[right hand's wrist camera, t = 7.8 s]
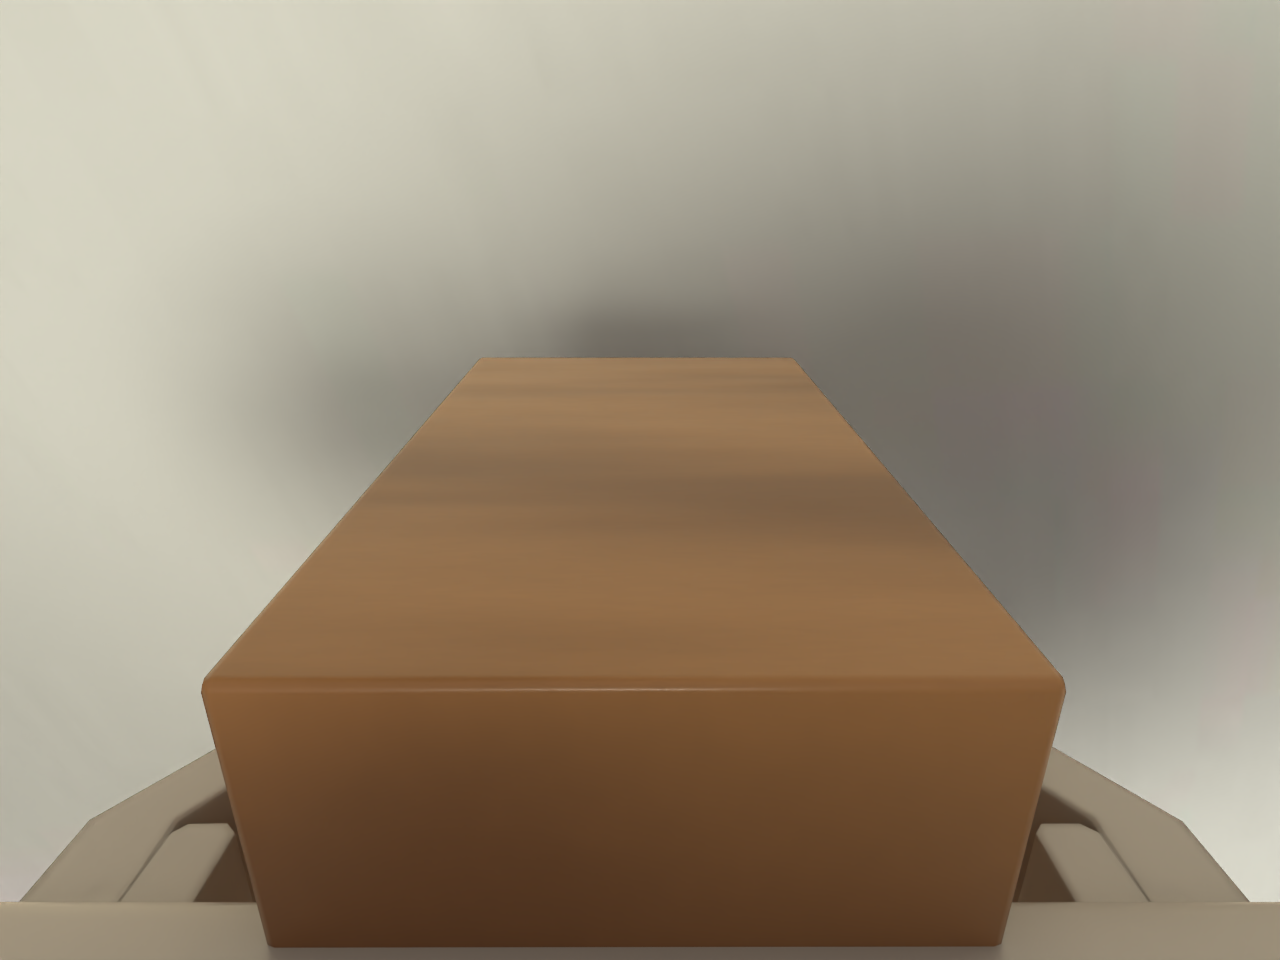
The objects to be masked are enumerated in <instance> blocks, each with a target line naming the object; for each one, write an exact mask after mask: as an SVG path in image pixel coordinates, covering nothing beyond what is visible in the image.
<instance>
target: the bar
mask: <svg viewBox="0 0 1280 960" xmlns="http://www.w3.org/2000/svg"><path fill="white" fill-rule="evenodd" d="M201 694H202V698H203V702H204V705H205V709H206V713H207V717H208V721H209V724H210V728H211V732H212V736H213V740H214V743H215V747H216V751H217V755H218V759H219V762H220V766H221V770H222V774H223V778H224V781H225V785H226V789H227V793H228V797H229V800H230V804H231V808H232V812H233V816H234V819H235V823H236V827H237V831H238V835H239V838H240V842H241V846H242V850H243V854H244V857H245V861H246V865H247V869H248V873H249V876H250V880H251V884H252V888H253V892H254V895H255V899H256V903H257V907H258V911H259V914H260V918H261V922H262V926H263V930H264V933H265V937H266V941H267V945H269V946H271V947H274V948H408V947H995V946H997V945H999V944H1001V943H1002V939H1003V935H1004V931H1005V927H1006V924H1007V920H1008V916H1009V912H1010V908H1011V904H1012V900H1013V896H1014V892H1015V888H1016V885H1017V881H1018V877H1019V873H1020V869H1021V865H1022V861H1023V857H1024V853H1025V849H1026V846H1027V842H1028V838H1029V834H1030V830H1031V826H1032V822H1033V818H1034V814H1035V810H1036V807H1037V803H1038V799H1039V795H1040V791H1041V787H1042V783H1043V779H1044V775H1045V772H1046V768H1047V764H1048V760H1049V756H1050V752H1051V748H1052V744H1053V740H1054V736H1055V733H1056V729H1057V725H1058V721H1059V717H1060V713H1061V709H1062V705H1063V701H1064V697H1065V694H1066V689H1065V683H1064V680H1063V677H1062V676H1061V675H1060V674H1059V672H1058V671H1057V670H1056V669H1055V668H1054V666H1053V665H1052V664H1051V663H1050V662H1049V661H1048V659H1047V658H1046V657H1045V656H1044V655H1043V653H1042V652H1041V651H1040V650H1039V649H1038V648H1037V646H1036V645H1035V644H1034V643H1033V642H1032V640H1031V639H1030V638H1029V637H1028V636H1027V635H1026V633H1025V632H1024V631H1023V630H1022V629H1021V627H1020V626H1019V625H1018V624H1017V623H1016V621H1015V620H1014V619H1013V618H1012V617H1011V616H1010V614H1009V613H1008V612H1007V611H1006V610H1005V608H1004V607H1003V606H1002V605H1001V604H1000V603H999V601H998V600H997V599H996V598H995V597H994V595H993V594H992V593H991V592H990V591H989V590H988V588H987V587H986V586H985V585H984V584H983V582H982V581H981V580H980V579H979V578H978V576H977V575H976V574H975V573H974V572H973V571H972V569H971V568H970V567H969V566H968V565H967V563H966V562H965V561H964V560H963V559H962V558H961V556H960V555H959V554H958V553H957V552H956V550H955V549H954V548H953V547H952V546H951V544H950V543H949V542H948V541H947V540H946V539H945V537H944V536H943V535H942V534H941V533H940V531H939V530H938V529H937V528H936V527H935V526H934V524H933V523H932V522H931V521H930V520H929V518H928V517H927V516H926V515H925V514H924V513H923V511H922V510H921V509H920V508H919V507H918V505H917V504H916V503H915V502H914V501H913V499H912V498H911V497H910V496H909V495H908V494H907V492H906V491H905V490H904V489H903V488H902V486H901V485H900V484H899V483H898V482H897V481H896V479H895V478H894V477H893V476H892V475H891V473H890V472H889V471H888V470H887V469H886V467H885V466H884V465H883V464H882V463H881V462H880V460H879V459H878V458H877V457H876V456H875V454H874V453H873V452H872V451H871V450H870V449H869V447H868V446H867V445H866V444H865V443H864V441H863V440H862V439H861V438H860V437H859V436H858V434H857V433H856V432H855V431H854V430H853V428H852V427H851V426H850V425H849V424H848V422H847V421H846V420H845V419H844V418H843V417H842V415H841V414H840V413H839V412H838V411H837V409H836V408H835V407H834V406H833V405H832V404H831V402H830V401H829V400H828V399H827V398H826V396H825V395H824V394H823V393H822V392H821V391H820V389H819V388H818V387H817V386H816V385H815V383H814V382H813V381H812V380H811V379H810V377H809V376H808V375H807V374H806V373H805V372H804V370H803V369H802V368H801V367H800V366H799V364H798V363H797V362H796V361H795V360H794V359H792V358H481V359H479V360H478V361H477V363H476V364H475V365H474V366H473V367H472V368H471V369H470V371H469V372H468V373H467V374H466V375H465V376H464V378H463V379H462V380H461V381H460V382H459V383H458V385H457V386H456V387H455V388H454V389H453V390H452V392H451V393H450V394H449V395H448V396H447V397H446V398H445V400H444V401H443V402H442V403H441V404H440V405H439V407H438V408H437V409H436V410H435V411H434V412H433V414H432V415H431V416H430V417H429V418H428V419H427V421H426V422H425V423H424V424H423V425H422V426H421V427H420V429H419V430H418V431H417V432H416V433H415V434H414V436H413V437H412V438H411V439H410V440H409V441H408V443H407V444H406V445H405V446H404V447H403V448H402V450H401V451H400V452H399V453H398V454H397V455H396V456H395V458H394V459H393V460H392V461H391V462H390V463H389V465H388V466H387V467H386V468H385V469H384V470H383V472H382V473H381V474H380V475H379V476H378V477H377V479H376V480H375V481H374V482H373V483H372V484H371V485H370V487H369V488H368V489H367V490H366V491H365V492H364V494H363V495H362V496H361V497H360V498H359V499H358V501H357V502H356V503H355V504H354V505H353V506H352V508H351V509H350V510H349V511H348V512H347V513H346V514H345V516H344V517H343V518H342V519H341V520H340V521H339V523H338V524H337V525H336V526H335V527H334V528H333V530H332V531H331V532H330V533H329V534H328V535H327V536H326V538H325V539H324V540H323V541H322V542H321V543H320V545H319V546H318V547H317V548H316V549H315V550H314V552H313V553H312V554H311V555H310V556H309V557H308V559H307V560H306V561H305V562H304V563H303V564H302V565H301V567H300V568H299V569H298V570H297V571H296V572H295V574H294V575H293V576H292V577H291V578H290V579H289V581H288V582H287V583H286V584H285V585H284V586H283V588H282V589H281V590H280V591H279V592H278V593H277V594H276V596H275V597H274V598H273V599H272V600H271V601H270V603H269V604H268V605H267V606H266V607H265V608H264V610H263V611H262V612H261V613H260V614H259V615H258V617H257V618H256V619H255V620H254V621H253V622H252V623H251V625H250V626H249V627H248V628H247V629H246V630H245V632H244V633H243V634H242V635H241V636H240V637H239V639H238V640H237V641H236V642H235V643H234V644H233V646H232V647H231V648H230V649H229V650H228V651H227V652H226V654H225V655H224V656H223V657H222V658H221V659H220V661H219V662H218V663H217V664H216V665H215V666H214V668H213V669H212V670H211V671H210V672H209V673H208V675H207V676H206V677H205V678H204V681H203V684H202V690H201Z"/></svg>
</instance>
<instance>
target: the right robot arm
mask: <svg viewBox="0 0 1280 960" xmlns="http://www.w3.org/2000/svg"><path fill="white" fill-rule="evenodd" d="M0 960H1280V902H1250V901H1249V900H1248V899H1247V898H1246V897H1245V895H1244V894H1243V893H1242V892H1241V891H1240V890H1239V888H1238V887H1237V886H1236V885H1235V884H1234V882H1233V881H1232V880H1231V879H1230V878H1229V876H1228V875H1227V874H1226V873H1225V872H1224V870H1223V869H1222V868H1221V867H1220V866H1219V864H1218V863H1217V862H1216V861H1215V860H1214V859H1213V857H1212V856H1211V855H1210V854H1209V853H1208V851H1207V850H1206V849H1205V848H1204V847H1203V845H1202V844H1201V843H1200V842H1199V841H1198V839H1197V838H1196V837H1195V836H1194V835H1193V834H1192V832H1191V831H1190V830H1189V829H1188V828H1187V826H1186V825H1185V824H1184V823H1183V822H1182V821H1181V820H1179V819H1177V818H1175V817H1174V816H1172V815H1170V814H1169V813H1167V812H1165V811H1163V810H1162V809H1160V808H1158V807H1156V806H1155V805H1153V804H1151V803H1149V802H1148V801H1146V800H1144V799H1142V798H1141V797H1139V796H1137V795H1135V794H1134V793H1132V792H1130V791H1128V790H1127V789H1125V788H1123V787H1121V786H1120V785H1118V784H1116V783H1114V782H1113V781H1111V780H1109V779H1107V778H1106V777H1104V776H1102V775H1101V774H1099V773H1097V772H1095V771H1094V770H1092V769H1090V768H1088V767H1087V766H1085V765H1083V764H1081V763H1080V762H1078V761H1076V760H1074V759H1073V758H1071V757H1069V756H1067V755H1066V754H1064V753H1062V752H1060V751H1059V750H1057V749H1055V748H1053V747H1052V748H1051V752H1050V756H1049V760H1048V764H1047V768H1046V772H1045V775H1044V779H1043V783H1042V787H1041V791H1040V795H1039V799H1038V803H1037V807H1036V810H1035V814H1034V818H1033V822H1032V826H1031V830H1030V834H1029V838H1028V842H1027V846H1026V849H1025V853H1024V857H1023V861H1022V865H1021V869H1020V873H1019V877H1018V881H1017V885H1016V888H1015V892H1014V896H1013V900H1012V904H1011V908H1010V912H1009V916H1008V920H1007V924H1006V927H1005V931H1004V935H1003V939H1002V943H1001V944H999V945H997V946H995V947H408V948H274V947H271V946H269V945H267V941H266V937H265V933H264V930H263V926H262V922H261V918H260V914H259V911H258V907H257V903H256V899H255V895H254V892H253V888H252V884H251V880H250V876H249V873H248V869H247V865H246V861H245V857H244V854H243V850H242V846H241V842H240V838H239V835H238V831H237V827H236V823H235V819H234V816H233V812H232V808H231V804H230V800H229V797H228V793H227V789H226V785H225V781H224V778H223V774H222V770H221V766H220V762H219V759H218V755H217V751H216V749H214V750H213V751H211V752H209V753H207V754H206V755H204V756H202V757H200V758H199V759H197V760H195V761H193V762H191V763H190V764H188V765H186V766H184V767H183V768H181V769H179V770H177V771H176V772H174V773H172V774H170V775H168V776H167V777H165V778H163V779H161V780H160V781H158V782H156V783H154V784H153V785H151V786H149V787H147V788H146V789H144V790H142V791H140V792H138V793H137V794H135V795H133V796H131V797H130V798H128V799H126V800H124V801H123V802H121V803H119V804H117V805H115V806H114V807H112V808H110V809H108V810H107V811H105V812H103V813H101V814H100V815H98V816H96V817H94V818H93V819H91V820H89V821H88V823H87V824H86V825H85V826H84V827H83V828H82V830H81V831H80V832H79V833H78V834H77V835H76V837H75V838H74V839H73V840H72V841H71V842H70V843H69V845H68V846H67V847H66V848H65V849H64V850H63V852H62V853H61V854H60V855H59V856H58V857H57V859H56V860H55V861H54V862H53V863H52V864H51V866H50V867H49V868H48V869H47V870H46V871H45V873H44V874H43V875H42V876H41V877H40V878H39V880H38V881H37V882H36V883H35V884H34V885H33V887H32V888H31V889H30V890H29V891H28V892H27V893H26V895H25V896H24V897H23V898H22V899H21V900H20V902H0Z"/></svg>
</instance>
